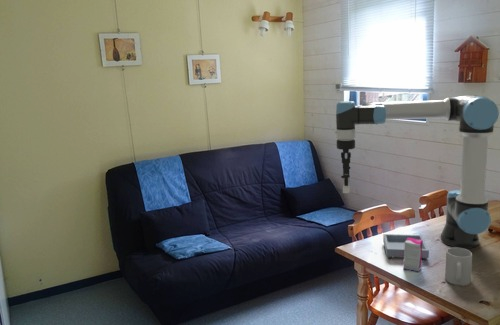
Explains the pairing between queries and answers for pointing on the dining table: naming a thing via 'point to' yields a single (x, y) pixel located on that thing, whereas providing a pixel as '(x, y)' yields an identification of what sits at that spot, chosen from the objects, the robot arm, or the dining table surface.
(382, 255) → the dining table surface
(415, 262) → the supplement box
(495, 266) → the dining table surface
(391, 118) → the robot arm
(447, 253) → the mug
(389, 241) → the grey tray
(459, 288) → the dining table surface
